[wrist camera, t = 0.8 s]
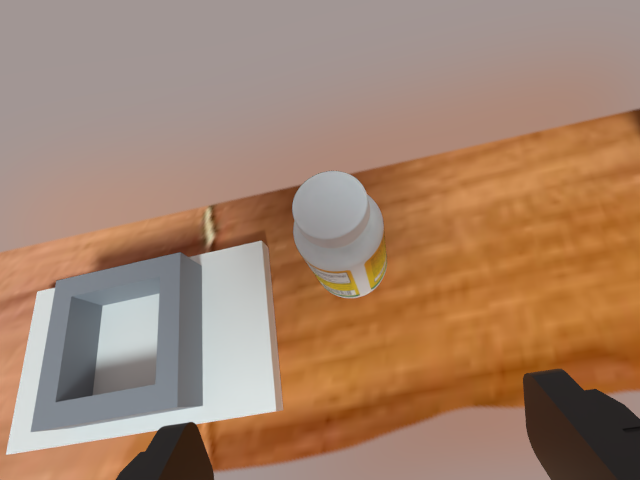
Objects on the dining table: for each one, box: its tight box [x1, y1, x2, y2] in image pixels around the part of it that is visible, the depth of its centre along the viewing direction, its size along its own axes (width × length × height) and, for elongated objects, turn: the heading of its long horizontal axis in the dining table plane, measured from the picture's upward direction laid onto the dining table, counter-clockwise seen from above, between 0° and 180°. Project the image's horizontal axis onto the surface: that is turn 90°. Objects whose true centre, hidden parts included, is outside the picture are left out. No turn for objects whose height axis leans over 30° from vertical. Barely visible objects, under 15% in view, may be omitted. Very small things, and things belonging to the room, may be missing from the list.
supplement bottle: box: [292, 171, 387, 298], centre depth 23 cm, size 5×5×10 cm
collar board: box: [6, 241, 283, 455], centre depth 26 cm, size 20×12×4 cm, turn 98°
